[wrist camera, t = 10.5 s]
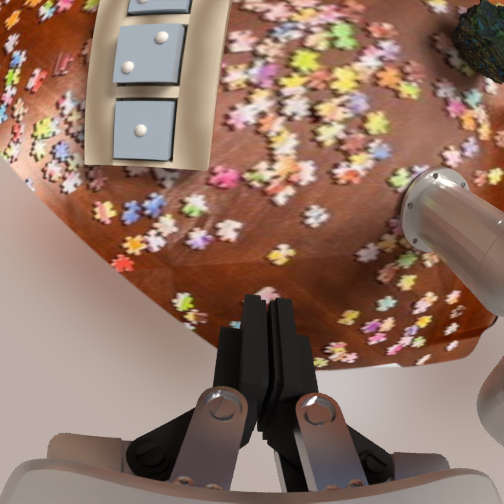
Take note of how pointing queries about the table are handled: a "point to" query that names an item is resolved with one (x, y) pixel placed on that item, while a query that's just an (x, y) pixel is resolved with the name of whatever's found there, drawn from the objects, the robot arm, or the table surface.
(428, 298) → the table surface
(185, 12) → the tile three
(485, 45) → the rock
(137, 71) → the tile two
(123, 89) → the board
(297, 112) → the table surface
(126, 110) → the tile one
